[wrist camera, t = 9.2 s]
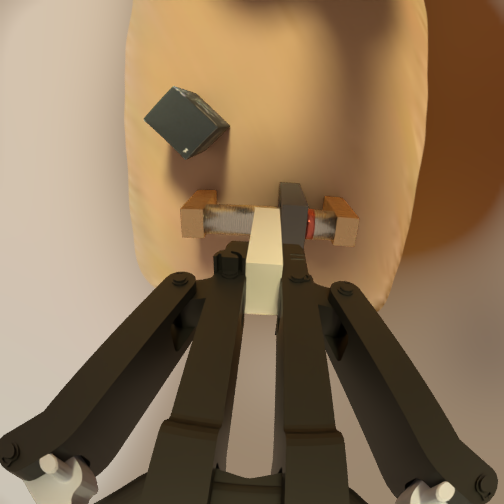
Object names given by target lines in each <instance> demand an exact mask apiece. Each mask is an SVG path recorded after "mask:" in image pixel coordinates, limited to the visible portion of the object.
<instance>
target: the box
mask: <svg viewBox="0 0 504 504" xmlns="http://www.w3.org/2000/svg"><path fill="white" fill-rule="evenodd" d="M144 121H145V122H146V123H148V124H149V125H150V126H151V127H152V128H153V129H154V130H155V131H156V132H157V133H159V134H160V135H161V136H162V137H163V138H164V139H165V140H166V141H167V142H168V143H169V144H170V145H171V146H172V147H173V148H174V149H175V150H176V151H177V152H178V153H179V154H180V155H181V156H182V157H183V158H184V159H185V160H186V159H189V158H190V157H193V156H195V155H197V154H199V153H201V152H203V151H205V150H206V149H207V148H208V147H209V146H210V145H211V144H212V143H213V142H214V141H215V140H216V139H217V138H218V137H220V136H221V135H222V134H223V133H224V132H225V131H226V130H227V129H228V128H229V127H230V125H229V124H228V123H227V122H226V121H224V120H223V119H222V118H221V117H220V116H219V115H218V114H217V113H216V112H215V111H214V110H213V109H212V108H211V107H210V106H209V105H208V104H207V103H206V102H205V101H203V99H201V98H200V97H199V96H198V95H197V94H196V93H193V92H190V91H187V90H184V89H181V88H178V87H175V86H173V87H172V88H171V89H170V90H169V91H168V92H167V93H166V94H165V95H164V96H163V97H162V98H161V100H160V101H159V102H158V103H157V104H156V105H155V106H154V107H153V109H152V110H151V111H150V112H149V113H148V114H147V115H146V116H145V118H144Z"/></svg>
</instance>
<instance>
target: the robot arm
mask: <svg viewBox="0 0 504 504" xmlns="http://www.w3.org/2000/svg"><path fill="white" fill-rule="evenodd" d="M213 258H214V275H213V277H211V278H208V279H204V280H196V279H195V276H194V275H193V274H191V273H188V272H176V273H173V274H170V275H169V276H168V277H166V278H165V279H164V280H163V281H162V282H161V283H160V284H159V285H158V286H157V287H156V288H155V289H154V290H153V291H152V293H151V294H150V295H149V296H148V297H147V298H146V299H145V300H144V301H143V302H142V303H141V304H140V305H139V306H138V307H137V308H136V309H135V310H134V311H133V312H132V313H131V314H130V315H129V317H127V318H126V319H125V321H124V322H123V323H122V324H121V325H120V326H119V327H118V328H117V329H116V330H115V331H114V332H113V333H112V334H111V335H110V336H109V338H108V339H107V340H106V341H105V342H104V343H103V344H102V345H101V346H100V347H99V348H98V350H97V351H96V352H95V353H94V354H93V355H92V356H91V357H90V358H89V359H88V361H87V362H86V363H85V364H84V365H83V366H82V367H81V368H80V370H79V371H78V372H77V373H76V374H75V375H74V376H73V377H72V379H71V380H70V381H69V382H68V383H67V384H66V386H65V387H64V388H63V389H62V390H61V391H60V392H59V394H58V395H57V396H56V397H55V398H54V400H53V401H52V402H51V403H50V404H49V406H48V407H47V408H46V409H45V411H44V412H42V413H40V414H38V415H37V416H35V417H34V418H32V419H30V420H29V421H27V422H25V423H24V424H22V425H20V426H19V427H17V428H15V429H14V430H12V431H10V432H9V433H7V434H5V435H4V436H3V437H2V438H1V439H0V463H1V465H2V466H3V467H4V468H5V469H6V470H8V471H9V472H11V473H12V474H14V475H16V476H17V477H19V478H21V479H22V480H23V481H24V482H25V484H26V486H27V488H28V490H29V492H30V494H31V495H32V497H33V499H34V501H35V502H36V504H88V503H89V500H90V499H91V497H92V496H93V495H95V494H97V492H98V486H97V481H96V476H97V475H99V474H100V473H101V472H102V471H103V470H104V469H105V468H106V467H107V466H108V465H109V464H110V462H111V461H112V460H113V458H114V457H115V456H116V455H117V453H118V452H119V450H120V449H121V447H122V446H123V444H124V443H125V441H126V440H127V438H128V437H129V435H130V434H131V432H132V431H133V429H134V428H135V426H136V425H137V423H138V422H139V420H140V418H141V417H142V416H143V414H144V413H145V411H146V410H147V408H148V406H149V405H150V403H151V402H152V401H153V399H154V398H155V396H156V395H157V393H158V392H159V390H160V389H161V387H162V386H163V384H164V383H165V381H166V379H167V378H168V377H169V375H170V373H171V372H172V371H173V369H174V368H175V366H176V365H177V363H178V362H179V360H180V359H181V357H182V355H183V354H184V353H185V351H186V350H187V348H188V347H189V345H190V344H191V342H192V341H193V342H192V344H191V348H190V351H189V354H188V358H187V361H186V364H185V368H184V372H183V375H182V378H181V381H180V385H179V388H178V392H177V395H176V399H175V402H174V406H173V409H172V413H171V416H170V418H169V419H167V420H164V422H163V423H162V424H161V427H160V430H159V432H158V436H157V439H156V443H155V447H154V451H153V454H152V458H151V461H150V465H149V469H148V472H147V473H145V474H143V475H141V476H139V477H137V478H136V479H134V480H133V481H131V482H130V483H128V484H127V485H125V486H123V487H122V488H120V489H118V490H117V491H115V492H113V493H112V494H110V495H108V496H107V497H105V498H103V499H101V500H100V501H98V502H96V503H94V504H368V503H367V502H365V501H364V500H363V499H362V498H361V497H360V496H359V495H358V494H357V493H356V492H355V491H354V490H352V489H351V488H349V487H348V475H347V463H346V453H345V443H344V438H343V436H342V433H341V432H339V431H337V430H336V426H335V420H334V411H333V402H332V394H331V386H330V379H329V372H328V365H327V358H326V352H327V354H328V356H329V358H330V361H331V362H332V365H333V367H334V369H335V371H336V373H337V375H338V378H339V380H340V382H341V384H342V386H343V388H344V391H345V393H346V395H347V397H348V399H349V402H350V404H351V406H352V408H353V410H354V413H355V415H356V417H357V419H358V422H359V424H360V426H361V428H362V431H363V433H364V435H365V437H366V440H367V442H368V444H369V446H370V449H371V451H372V453H373V456H374V458H375V460H376V463H377V465H378V467H379V470H380V472H381V474H382V476H383V478H384V480H385V482H386V484H387V486H388V487H389V488H390V490H391V492H392V493H393V494H394V496H395V497H396V498H397V500H396V502H395V504H485V503H487V502H488V501H490V500H491V498H492V497H493V496H494V494H495V492H496V489H497V484H498V479H497V475H496V473H495V471H494V470H493V469H492V468H491V467H490V466H489V465H487V464H486V463H485V462H484V461H483V460H482V459H481V458H480V457H479V456H478V455H476V454H475V453H474V452H473V451H472V450H471V449H470V448H469V447H467V446H466V445H465V444H464V443H463V442H462V441H461V440H459V438H458V436H457V434H456V432H455V431H454V429H453V427H452V425H451V424H450V422H449V420H448V418H447V417H446V415H445V413H444V412H443V410H442V408H441V407H440V405H439V404H438V402H437V400H436V399H435V397H434V395H433V394H432V392H431V391H430V389H429V388H428V386H427V384H426V383H425V381H424V380H423V378H422V377H421V375H420V374H419V372H418V370H417V369H416V367H415V366H414V365H413V363H412V361H411V360H410V358H409V357H408V356H407V354H406V353H405V351H404V350H403V348H402V347H401V345H400V344H399V342H398V341H397V339H396V338H395V337H394V335H393V334H392V332H391V331H390V330H389V328H388V327H387V325H386V324H385V323H384V321H383V320H382V318H381V317H380V316H379V314H378V313H377V312H376V310H375V309H374V308H373V306H372V305H371V304H370V302H369V301H368V300H367V298H366V297H365V296H364V294H363V293H362V292H361V290H360V289H359V288H358V287H357V286H356V285H354V284H352V283H350V282H346V281H338V282H334V283H333V284H332V285H331V288H327V287H323V286H320V285H318V284H316V283H314V282H313V278H312V276H311V275H309V274H308V270H307V264H306V260H305V254H304V249H303V248H302V247H301V246H300V245H299V244H284V243H282V237H281V221H280V209H275V208H259V207H255V212H254V218H253V224H252V230H251V235H250V241H249V242H241V241H232V242H230V243H229V244H228V245H227V247H226V250H222V251H219V252H217V253H216V254H215V255H214V256H213ZM244 312H245V313H246V314H260V315H277V313H278V315H277V324H276V331H275V335H276V390H275V423H274V449H273V463H272V469H271V475H268V476H263V477H257V478H250V479H249V478H244V477H240V476H237V475H234V474H231V473H228V472H226V456H227V447H228V440H229V433H230V425H231V417H232V410H233V402H234V395H235V387H236V379H237V372H238V364H239V357H240V349H241V341H242V334H243V326H244ZM325 350H326V351H325Z"/></svg>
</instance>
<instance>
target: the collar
mask: <svg viewBox="0 0 504 504" xmlns="http://www.w3.org/2000/svg"><path fill="white" fill-rule="evenodd" d="M278 207H281V209H282V210H281V237H282V243H284V244H299V245H300V246H301V247H302V248H303V249H304V241H305V233H306V225H307V216H308V207H309V206H308V204H307V201H306V199H305V196H304V194H303V191H302V189H301V186H300V184H298V183H283V182H280V188H279V204H278Z"/></svg>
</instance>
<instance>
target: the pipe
mask: <svg viewBox="0 0 504 504" xmlns="http://www.w3.org/2000/svg"><path fill="white" fill-rule="evenodd" d="M255 207H259V208H275V209H280V221H281V210H282V209H281V207H270V206H250V205H225V204H217V196H216V190H197V191H196V192H195V194H194V195H193V196H192V197H191V198H190V199H189V200H188V201H187V202H186V203H185V204H184V205H183V206H182V208H181V209H180V214H181V228H182V237H185V238H204V237H205V235H206V234H227V235H247V236H250V235H251V230H252V224H253V218H254V212H255ZM359 220H360V219H359V217H358V216H357V215H356V214H355V212H354V211H353V210H352V209H351V207H350V206H349V205H348V204H347V203H346V201H345V200H344V199H343V198H341V197H330V196H324V204H323V210H316V209H308V216H307V225H306V233H305V239H318V240H331V242H332V244H333V245H334V246H350V247H354V246H355V241H356V236H357V231H358V225H359Z"/></svg>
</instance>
